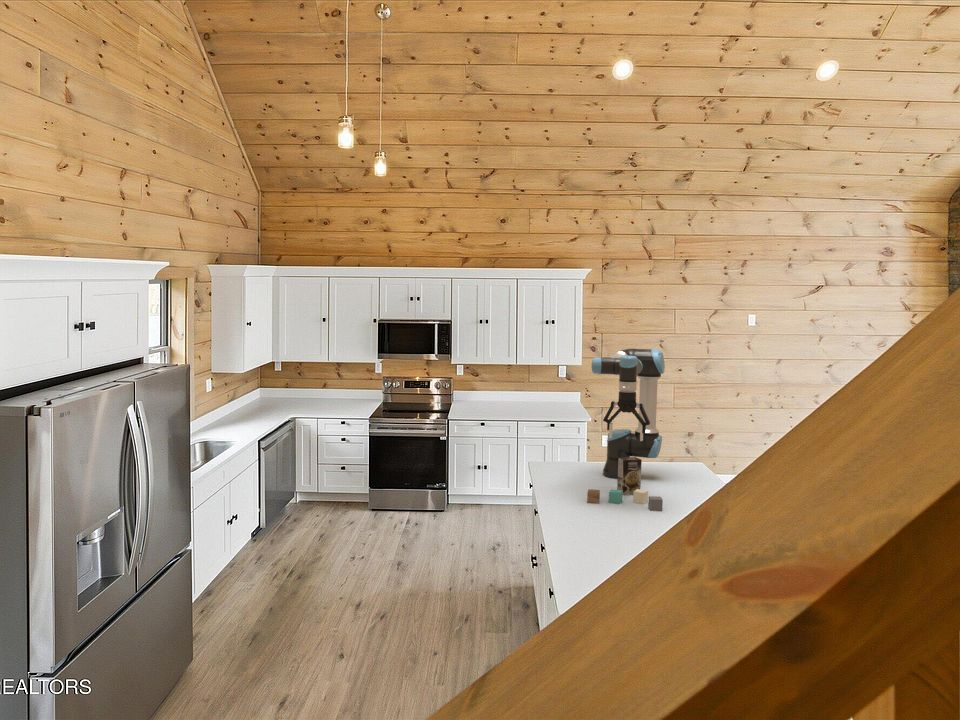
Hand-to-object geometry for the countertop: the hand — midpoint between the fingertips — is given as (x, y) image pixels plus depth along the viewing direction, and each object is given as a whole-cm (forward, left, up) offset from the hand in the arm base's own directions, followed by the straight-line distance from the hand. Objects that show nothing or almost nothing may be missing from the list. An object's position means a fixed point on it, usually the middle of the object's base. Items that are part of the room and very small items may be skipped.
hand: (625, 439), depth 339 cm
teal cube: (+2, -3, -28) cm, 28 cm away
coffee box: (-17, -1, -28) cm, 33 cm away
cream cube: (-3, +7, -28) cm, 29 cm away
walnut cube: (+6, -12, -28) cm, 31 cm away
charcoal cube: (+6, +15, -28) cm, 32 cm away
